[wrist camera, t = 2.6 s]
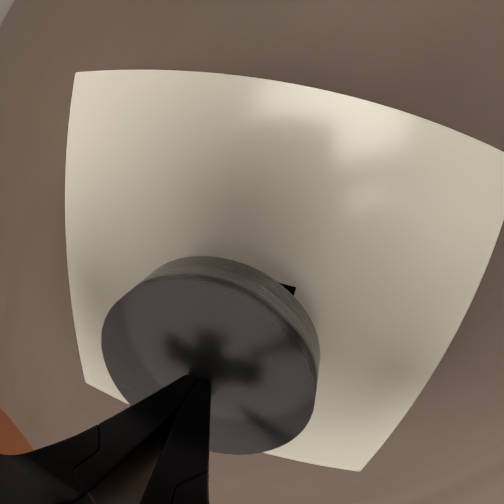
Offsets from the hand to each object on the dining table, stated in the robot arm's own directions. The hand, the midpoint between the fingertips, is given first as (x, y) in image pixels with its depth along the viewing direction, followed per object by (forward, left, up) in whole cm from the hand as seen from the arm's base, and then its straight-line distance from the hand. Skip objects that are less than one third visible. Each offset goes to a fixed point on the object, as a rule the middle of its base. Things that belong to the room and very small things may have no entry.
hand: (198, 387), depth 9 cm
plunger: (0, 0, -6) cm, 6 cm away
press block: (0, 0, -8) cm, 8 cm away
